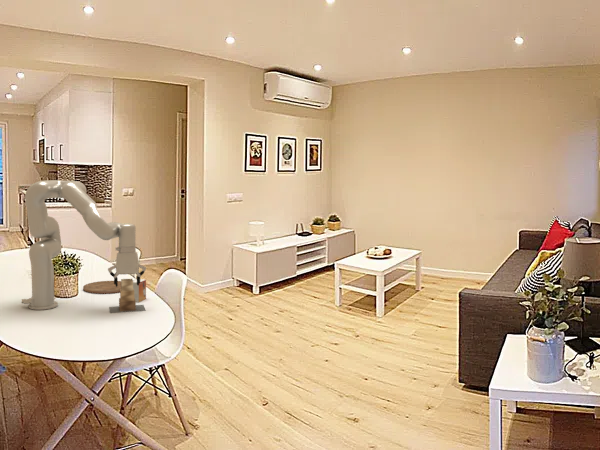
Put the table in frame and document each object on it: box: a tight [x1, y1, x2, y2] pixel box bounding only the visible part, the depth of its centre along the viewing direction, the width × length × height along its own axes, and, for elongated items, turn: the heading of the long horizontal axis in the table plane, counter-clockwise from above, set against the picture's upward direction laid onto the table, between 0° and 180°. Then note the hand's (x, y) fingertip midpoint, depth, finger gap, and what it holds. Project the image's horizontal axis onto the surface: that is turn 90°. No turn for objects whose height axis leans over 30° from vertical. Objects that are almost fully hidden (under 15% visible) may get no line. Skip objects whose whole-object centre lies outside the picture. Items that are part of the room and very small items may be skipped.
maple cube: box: [120, 278, 134, 292], centre depth 251 cm, size 5×5×5 cm
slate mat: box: [108, 304, 146, 314], centre depth 252 cm, size 16×11×1 cm
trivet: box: [82, 280, 121, 295], centre depth 291 cm, size 25×25×2 cm
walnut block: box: [118, 297, 137, 311], centre depth 252 cm, size 7×7×4 cm
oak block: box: [119, 289, 134, 302], centre depth 251 cm, size 6×6×4 cm
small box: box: [133, 278, 147, 303], centre depth 267 cm, size 8×6×10 cm
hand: (127, 285), depth 251 cm, fingers open, 9 cm apart
